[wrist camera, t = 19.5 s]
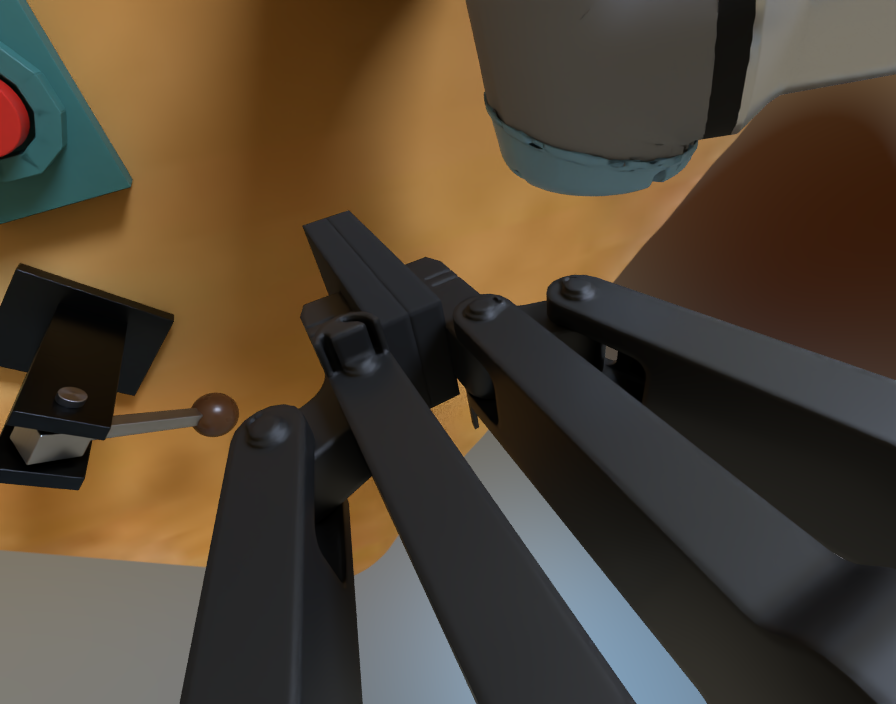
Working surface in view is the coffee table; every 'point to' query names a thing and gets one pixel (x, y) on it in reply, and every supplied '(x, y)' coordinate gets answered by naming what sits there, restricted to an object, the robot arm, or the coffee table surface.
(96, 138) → the button box
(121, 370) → the bracket
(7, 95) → the button
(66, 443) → the lever
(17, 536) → the coffee table surface
